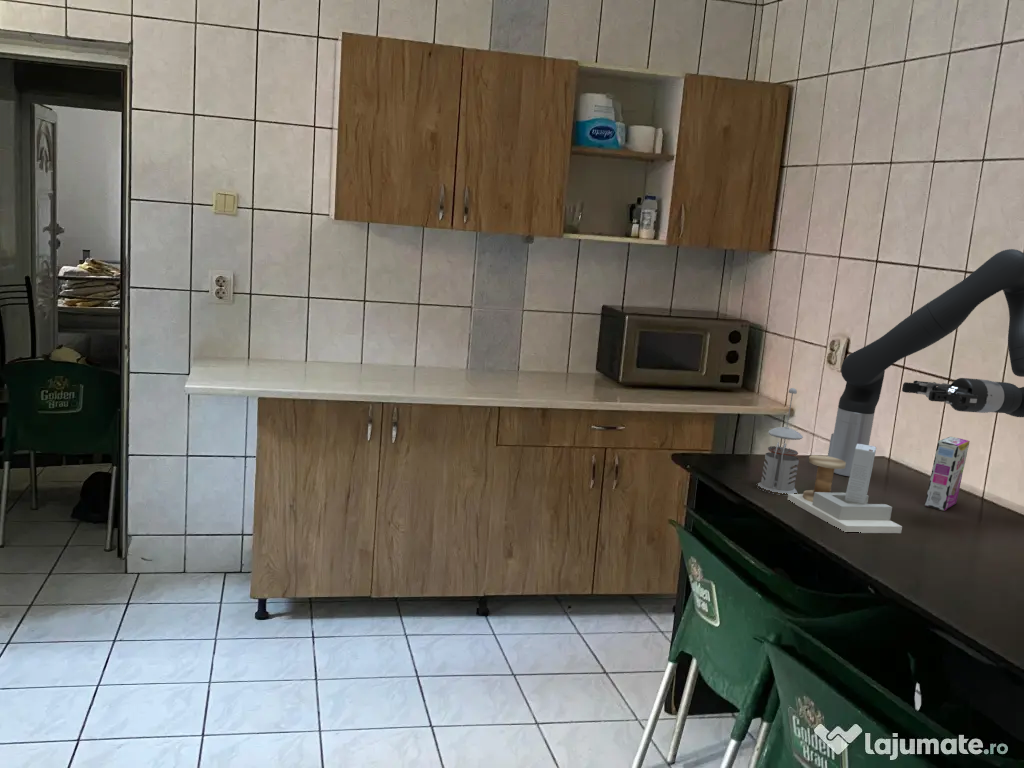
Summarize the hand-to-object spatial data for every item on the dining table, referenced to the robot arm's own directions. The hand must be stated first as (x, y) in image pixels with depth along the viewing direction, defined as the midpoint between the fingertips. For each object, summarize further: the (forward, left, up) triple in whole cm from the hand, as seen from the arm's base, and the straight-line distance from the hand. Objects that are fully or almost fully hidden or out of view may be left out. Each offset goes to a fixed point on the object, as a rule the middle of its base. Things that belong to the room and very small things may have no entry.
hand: (916, 391), depth 203 cm
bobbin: (-9, -13, -28) cm, 32 cm away
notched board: (-2, -12, -30) cm, 32 cm away
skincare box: (0, -11, -25) cm, 28 cm away
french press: (-21, -17, -30) cm, 40 cm away
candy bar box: (-11, +23, -30) cm, 39 cm away
